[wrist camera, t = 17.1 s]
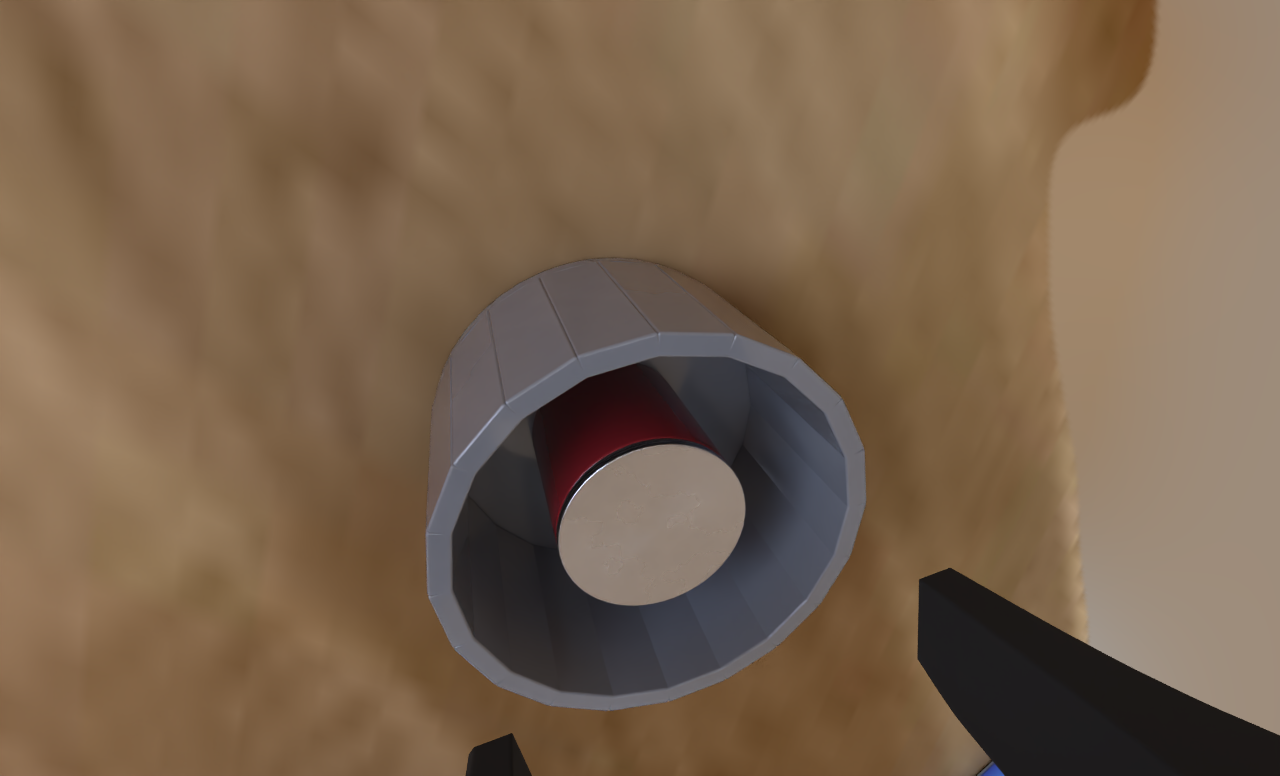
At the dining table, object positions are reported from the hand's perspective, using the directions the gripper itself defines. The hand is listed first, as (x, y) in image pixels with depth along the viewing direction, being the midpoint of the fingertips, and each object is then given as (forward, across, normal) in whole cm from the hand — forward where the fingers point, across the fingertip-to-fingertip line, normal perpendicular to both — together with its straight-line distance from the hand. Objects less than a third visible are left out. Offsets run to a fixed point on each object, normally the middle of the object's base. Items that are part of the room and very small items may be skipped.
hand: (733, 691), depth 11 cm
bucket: (+10, 0, 0) cm, 10 cm away
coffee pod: (+9, 0, 0) cm, 9 cm away
